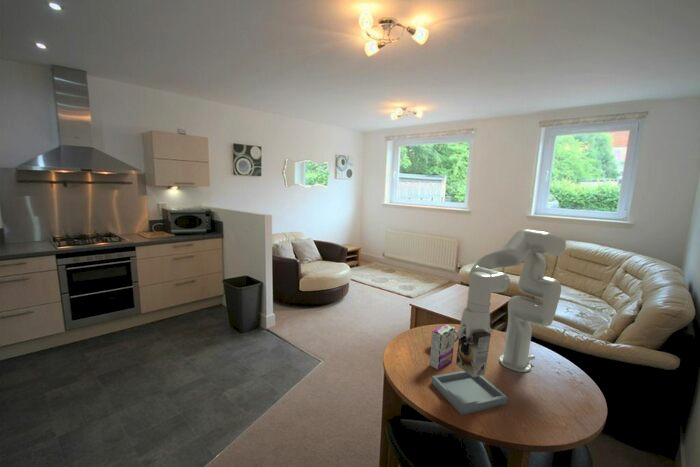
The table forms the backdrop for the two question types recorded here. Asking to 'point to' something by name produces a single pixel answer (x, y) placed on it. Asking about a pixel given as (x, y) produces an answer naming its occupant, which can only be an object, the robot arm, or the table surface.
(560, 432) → the table surface
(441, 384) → the tray
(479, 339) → the coffee box
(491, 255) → the robot arm
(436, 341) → the candy bar box
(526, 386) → the table surface
